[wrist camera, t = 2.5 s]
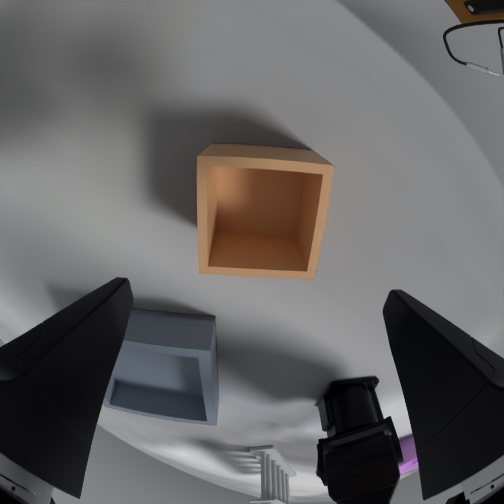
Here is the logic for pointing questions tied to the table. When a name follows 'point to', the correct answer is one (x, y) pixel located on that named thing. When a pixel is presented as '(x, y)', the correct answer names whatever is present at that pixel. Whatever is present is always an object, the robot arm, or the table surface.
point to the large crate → (167, 368)
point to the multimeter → (477, 21)
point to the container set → (408, 455)
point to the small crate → (261, 210)
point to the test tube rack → (273, 476)
